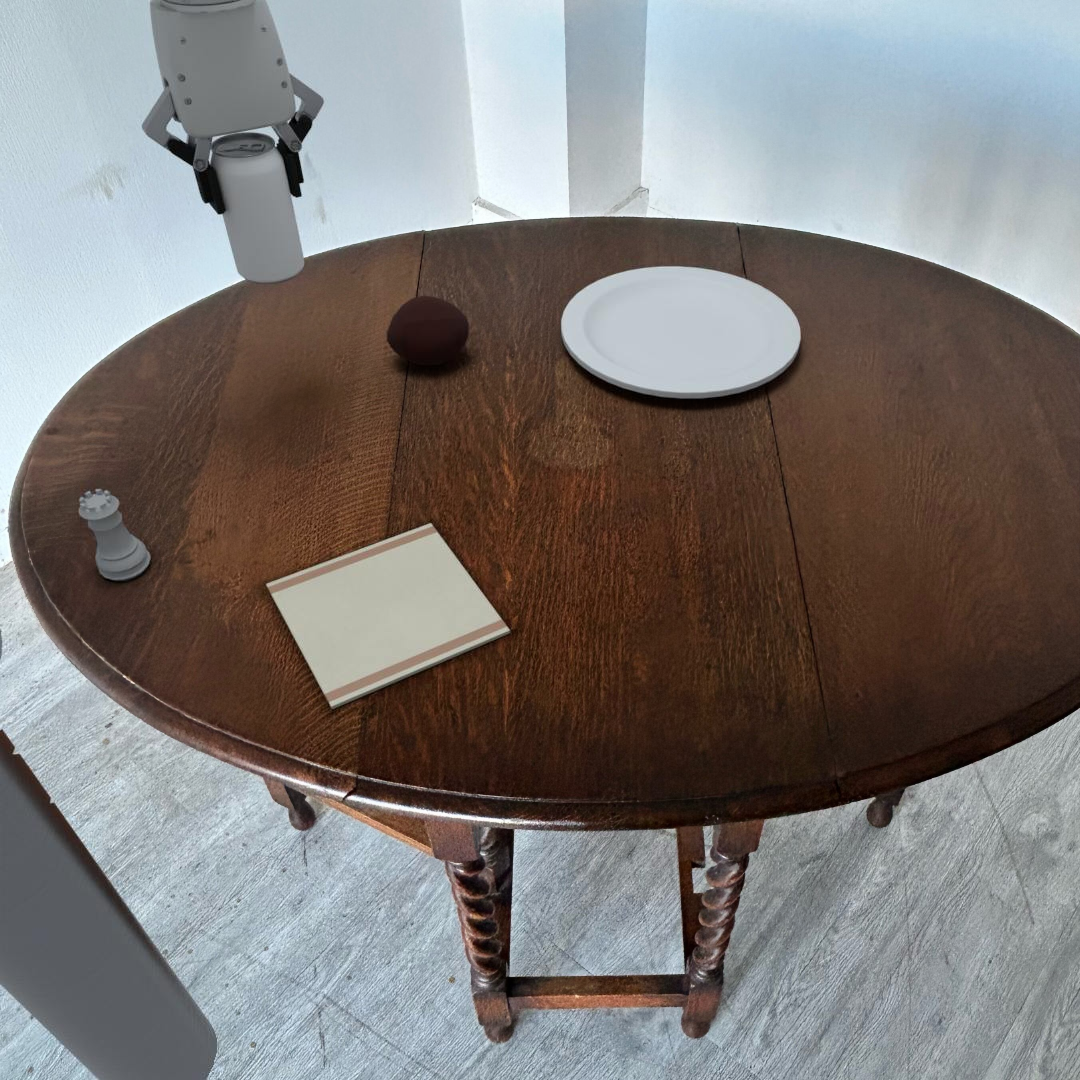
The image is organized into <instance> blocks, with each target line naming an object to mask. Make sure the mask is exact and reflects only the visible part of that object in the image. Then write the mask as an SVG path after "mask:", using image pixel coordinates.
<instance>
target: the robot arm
mask: <svg viewBox="0 0 1080 1080" xmlns="http://www.w3.org/2000/svg"><path fill="white" fill-rule="evenodd" d="M268 4H269V3H268V1H267V0H150V1H149V10H150V22H151V30H152V31H151V32H152V37H153V42H154V43H153V44H154V48H155V49H154V50H155V54H156V58H157V64H158V68H159V69H158V70H159V73H160V79H161V82H162V87H163V88H162V89H163V91H162V93H161V94H160V95H159V96H158V99H157V100H156V102H155V103H154V105H153V106H152V108H151V109H150V111H149V113H148V114H147V116H146V118H145V119H144V120H143V122H142V124H141V129H142V131H143V132H144V134H145V135H146V136H147V137H148V138H149V139H151V140H153V141H154V142H155V143H157V144H158V145H159V146H160V147H162V148H164V149H165V150H167V151H169V152H170V153H171V154H172V155H173V156H174V157H176V158H178V159H180V160H181V161H183V162H184V163H186V164H188V165H189V166H190V167H192V169H193V173H194V176H195V181H196V185H197V189H198V192H199V195H200V198H201V200H202V202H203V203H204V204H205V205H206V204H209V205H210V207H211V208H212V209H213V211H215V212H216V214H217V215H222V214H224V212H226V209H225V205H224V202H223V198H222V194H221V190H220V186H219V182H218V178H217V174H216V171H215V170H214V168H213V167H212V166H211V165H210V161H209V160H210V154H211V144H212V142H213V139H214V137H222V136H226V135H229V134H234V133H242V132H249V131H254V130H258V129H263V128H269V127H270V128H271V129H272V130H273V132H274V133H275V135H276V136H277V138H278V139H277V143H276V142H275V145H276V146H275V147H276V148H277V150H278V151H279V152H280V154H281V156H282V158H283V161H284V165H285V169H286V174H287V179H288V184H289V188H290V193H291V197H293V198H296V199H298V198H302V196H303V194H302V189H301V184H304V183H305V180H304V178H305V177H304V174H303V169H302V163H301V157H300V154H299V153H300V152H301V151H302V148H303V144H302V143H304V141H305V139H306V137H307V136H308V134H309V132H310V131H311V130H312V128H313V124H314V123H313V122H314V121H315V120H316V118H317V117H318V114H319V113H320V111H321V110H322V107H323V106H324V104H325V99H324V97H322V96H321V94H319V93H317V91H315V90H313V89H312V88H311V87H310V86H309V85H307V84H306V83H304V82H303V81H301V80H300V79H299V78H297V77H296V76H294V74H292V73H290V71H289V67H288V64H287V60H286V57H285V53H284V49H283V46H282V43H281V39H280V36H279V33H278V30H277V27H276V26H277V25H276V24H275V21H274V17H273V15H272V12H271V10H270V7H269V5H268ZM295 96H296V97H298V98H299V99H300V101H301V102H300V105H299V108H298V110H297V107H296V105H297V104H296V98H295ZM172 119H173V121H174V122H177V123H180V124H181V126H182V129H183V130H184V132H185V134H186V140H185V141H186V142H185V141H184V140H182V139H181V138H179V137H177V136H175V135H174V134H172V133H171V132H170V131H168V130H167V126H168V124H169V123H170V121H171V120H172Z"/></svg>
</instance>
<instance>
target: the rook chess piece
mask: <svg viewBox="0 0 1080 1080" xmlns="http://www.w3.org/2000/svg"><path fill="white" fill-rule="evenodd" d="M84 496H85V497H84ZM84 496H80V498H79V500H78V503H79V508H78V510H77V511H78V515H79V516H80V517H82V519H85V520H86V521H87V527H88V528H89V529H90V530H92V531H93V533H94V536H95V540H96V542H97V547H96V553H95V556H94V559H95V563H96V567H97V568H98V572H99V574H100V575H101V576H102V577H103V578H105V579H108V580H111V581H115V582H125V581H128V580H133V579H135V578H137V577H138V576H140V575H142V574H144V573H143V572H145V570H146V569H148V567H149V564H150V561H151V558H152V557H151V554H150V552H149V551H148V550H147V547H146V544H144V542H143V541H141V540H140V539H139V538H137V537H136V536H135V535H134V534H131V533H130V532H129V529H127V527H126V526H125V524H124V523H123V515H122V513H121V512H120V511H119V510H118V509H119V506H120V501H119V498H117V497H116V496H114V495H112V494H111V492H110V491H109V490H108V489H106V490H103V489H102V488H95V493H93V494H92V492H91V491H90V490H88V491H86V492H85V493H84Z"/></svg>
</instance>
